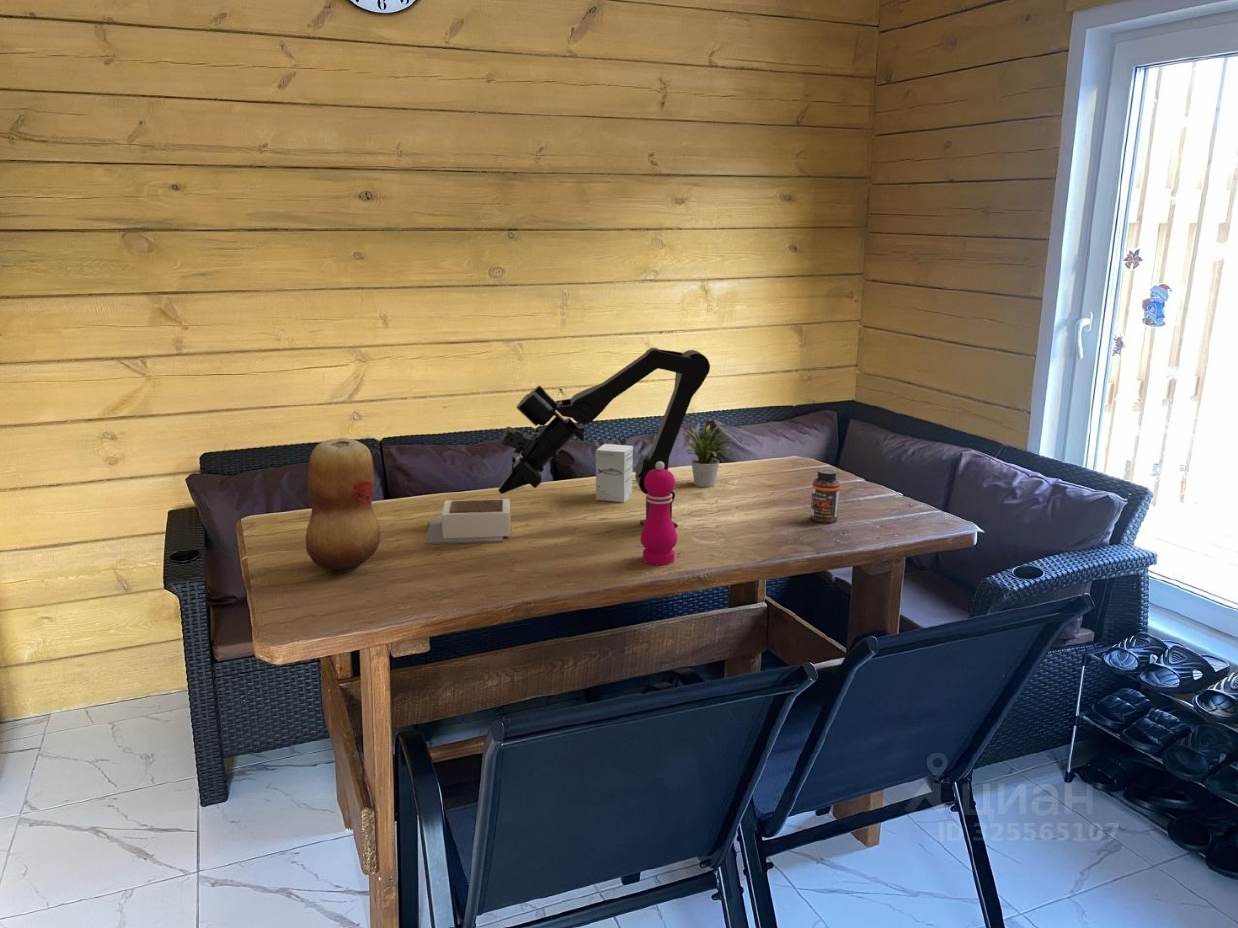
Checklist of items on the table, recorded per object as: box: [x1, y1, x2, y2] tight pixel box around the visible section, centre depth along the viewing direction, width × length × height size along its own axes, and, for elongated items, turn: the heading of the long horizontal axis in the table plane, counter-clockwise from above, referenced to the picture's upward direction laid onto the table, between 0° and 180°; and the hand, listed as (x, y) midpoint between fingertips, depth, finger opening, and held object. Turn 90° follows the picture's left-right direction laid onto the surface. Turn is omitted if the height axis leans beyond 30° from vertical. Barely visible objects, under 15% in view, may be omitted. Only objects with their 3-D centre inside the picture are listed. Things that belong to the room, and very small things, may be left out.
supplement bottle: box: [810, 468, 840, 524], centre depth 214 cm, size 6×6×11 cm
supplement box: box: [595, 443, 634, 503], centre depth 230 cm, size 7×7×13 cm
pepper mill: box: [640, 461, 678, 566], centre depth 186 cm, size 7×7×20 cm
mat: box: [424, 518, 504, 545], centre depth 206 cm, size 16×16×1 cm
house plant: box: [685, 421, 734, 488], centre depth 241 cm, size 14×14×16 cm
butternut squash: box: [305, 437, 381, 571], centre depth 181 cm, size 14×13×25 cm
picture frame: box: [441, 498, 511, 538], centre depth 206 cm, size 5×11×14 cm
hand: (500, 491), depth 205 cm, fingers closed
